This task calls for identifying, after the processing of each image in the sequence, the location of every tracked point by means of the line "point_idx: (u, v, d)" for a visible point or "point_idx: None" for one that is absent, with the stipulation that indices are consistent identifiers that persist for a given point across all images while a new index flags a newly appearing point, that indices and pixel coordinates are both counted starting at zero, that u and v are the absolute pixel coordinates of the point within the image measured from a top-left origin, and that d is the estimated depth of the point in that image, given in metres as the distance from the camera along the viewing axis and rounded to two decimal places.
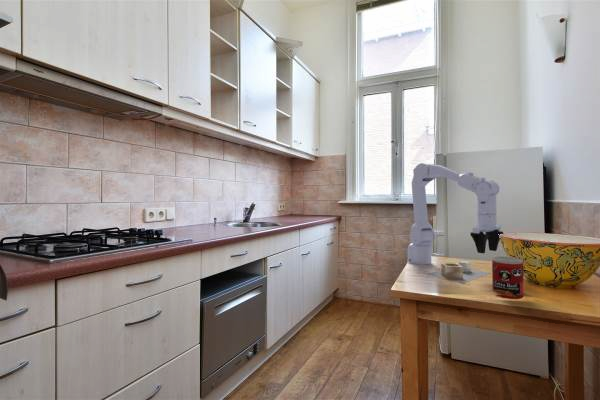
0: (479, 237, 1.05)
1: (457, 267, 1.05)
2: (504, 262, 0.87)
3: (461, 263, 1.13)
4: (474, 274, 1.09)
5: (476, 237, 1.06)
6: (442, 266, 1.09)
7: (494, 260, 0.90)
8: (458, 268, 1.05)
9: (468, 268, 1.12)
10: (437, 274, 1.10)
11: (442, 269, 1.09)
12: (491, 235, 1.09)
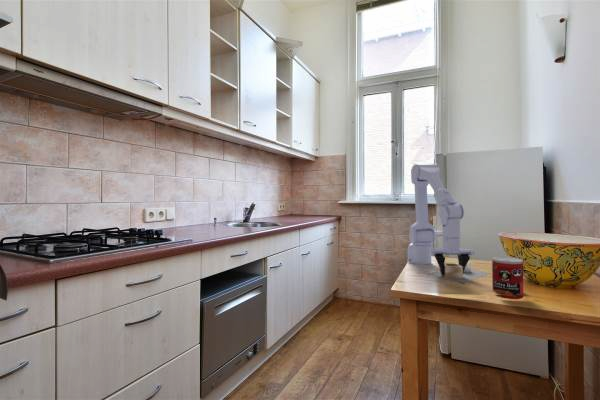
0: None
1: (457, 267, 1.05)
2: (504, 262, 0.87)
3: None
4: (474, 274, 1.09)
5: None
6: None
7: (494, 260, 0.90)
8: (458, 268, 1.05)
9: (468, 268, 1.12)
10: (437, 274, 1.10)
11: None
12: (459, 259, 1.07)
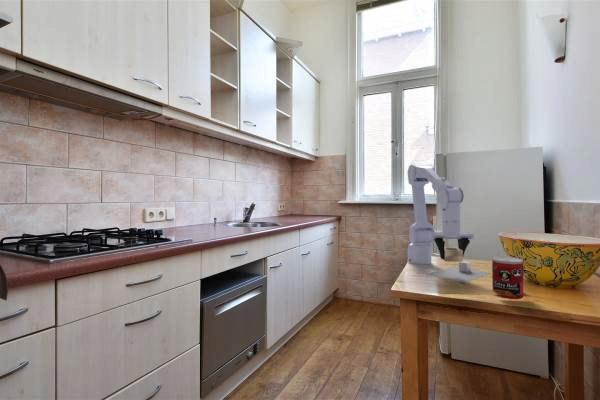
0: None
1: (457, 251, 1.05)
2: (504, 262, 0.87)
3: (461, 263, 1.13)
4: (474, 274, 1.09)
5: None
6: None
7: (494, 260, 0.90)
8: (458, 252, 1.04)
9: (468, 268, 1.12)
10: (437, 274, 1.10)
11: None
12: (459, 243, 1.07)
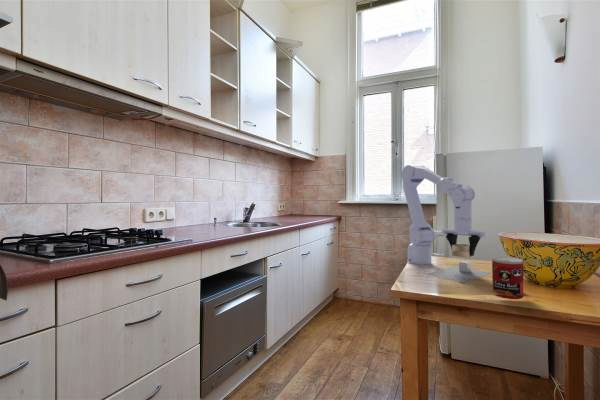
0: None
1: (463, 247, 1.10)
2: (504, 262, 0.87)
3: (461, 263, 1.13)
4: (474, 274, 1.09)
5: None
6: None
7: (494, 260, 0.90)
8: (463, 248, 1.10)
9: (468, 268, 1.12)
10: (437, 274, 1.10)
11: None
12: None
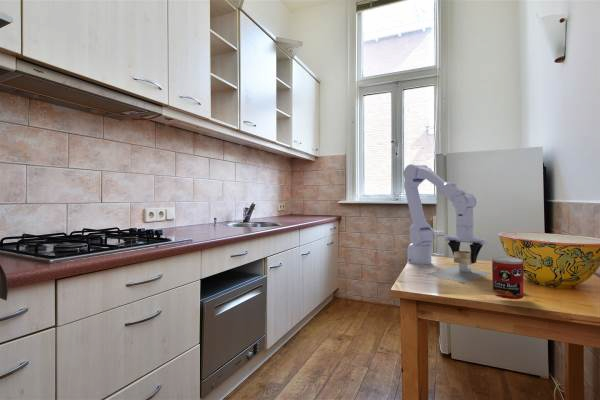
0: None
1: (464, 254, 1.11)
2: (504, 262, 0.87)
3: None
4: (474, 274, 1.09)
5: None
6: None
7: (494, 260, 0.90)
8: (465, 255, 1.11)
9: (468, 268, 1.12)
10: (437, 274, 1.10)
11: None
12: None
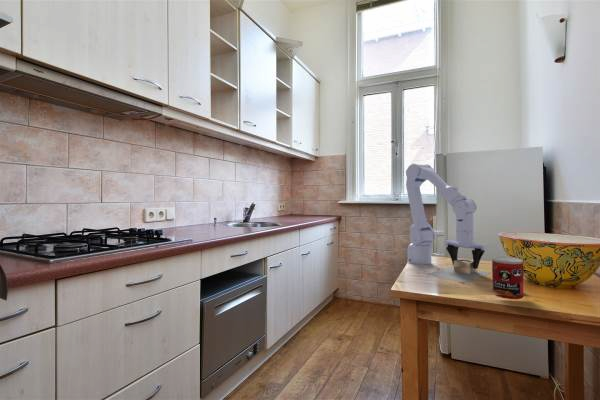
0: None
1: (464, 263, 1.11)
2: (504, 262, 0.87)
3: None
4: (474, 274, 1.09)
5: None
6: None
7: (494, 260, 0.90)
8: (465, 264, 1.11)
9: None
10: (437, 274, 1.10)
11: None
12: None
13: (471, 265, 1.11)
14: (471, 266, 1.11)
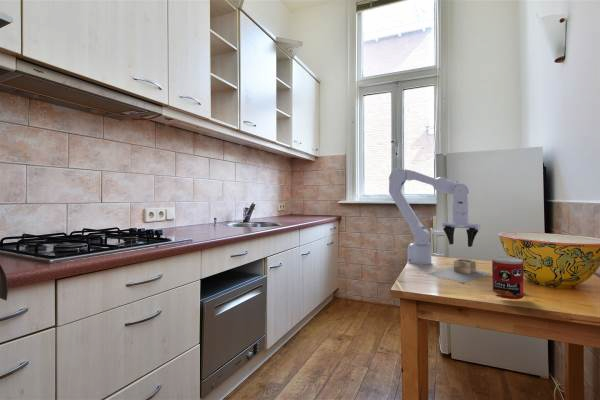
0: None
1: (464, 263, 1.11)
2: (504, 262, 0.87)
3: None
4: (474, 274, 1.09)
5: None
6: None
7: (494, 260, 0.90)
8: (465, 264, 1.11)
9: None
10: (437, 274, 1.10)
11: None
12: None
13: (471, 265, 1.11)
14: (471, 266, 1.11)
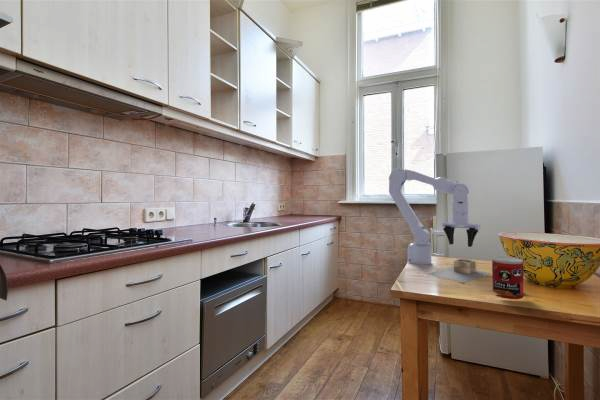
0: None
1: (464, 263, 1.11)
2: (504, 262, 0.87)
3: None
4: (474, 274, 1.09)
5: None
6: None
7: (494, 260, 0.90)
8: (465, 264, 1.11)
9: None
10: (437, 274, 1.10)
11: None
12: None
13: (471, 265, 1.11)
14: (471, 266, 1.11)
